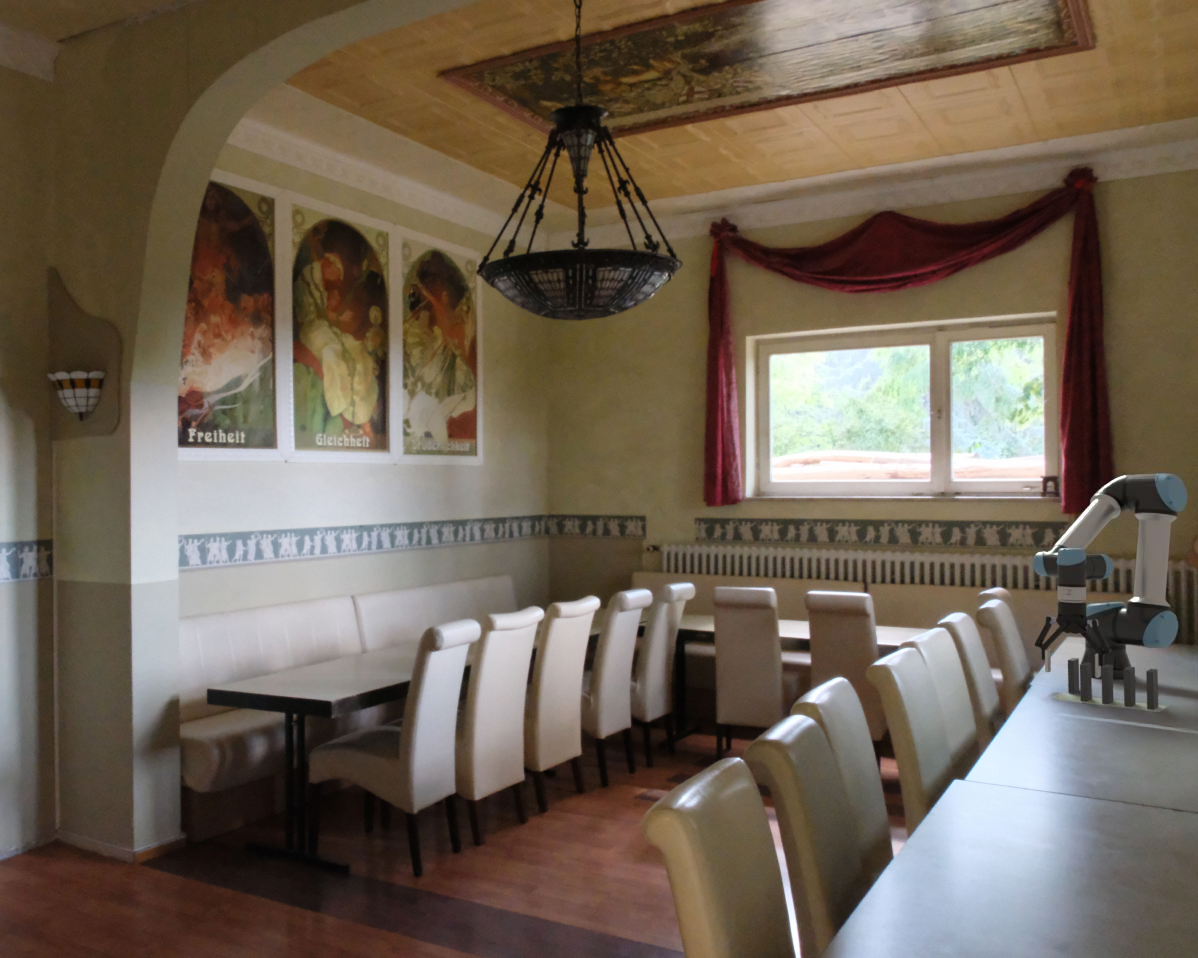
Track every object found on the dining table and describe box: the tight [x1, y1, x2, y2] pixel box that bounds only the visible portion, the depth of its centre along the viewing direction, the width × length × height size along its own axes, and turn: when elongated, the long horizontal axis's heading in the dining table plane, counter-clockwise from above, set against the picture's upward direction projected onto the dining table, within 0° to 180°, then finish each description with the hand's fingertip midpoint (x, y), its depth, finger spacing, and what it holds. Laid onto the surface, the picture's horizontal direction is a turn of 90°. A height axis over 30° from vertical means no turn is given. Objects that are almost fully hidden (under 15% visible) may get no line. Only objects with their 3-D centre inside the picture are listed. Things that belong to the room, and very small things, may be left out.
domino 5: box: [1145, 668, 1159, 710], centre depth 260 cm, size 5×2×10 cm, turn 138°
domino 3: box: [1101, 664, 1115, 704], centre depth 268 cm, size 5×2×10 cm, turn 138°
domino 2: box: [1079, 662, 1093, 702], centre depth 271 cm, size 5×2×10 cm, turn 138°
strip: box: [1051, 693, 1168, 713], centre depth 268 cm, size 9×27×1 cm, turn 48°
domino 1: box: [1067, 657, 1080, 694], centre depth 283 cm, size 5×2×10 cm, turn 138°
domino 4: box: [1123, 666, 1137, 707], centre depth 264 cm, size 5×2×10 cm, turn 138°
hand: (1072, 674), depth 283 cm, fingers open, 13 cm apart
